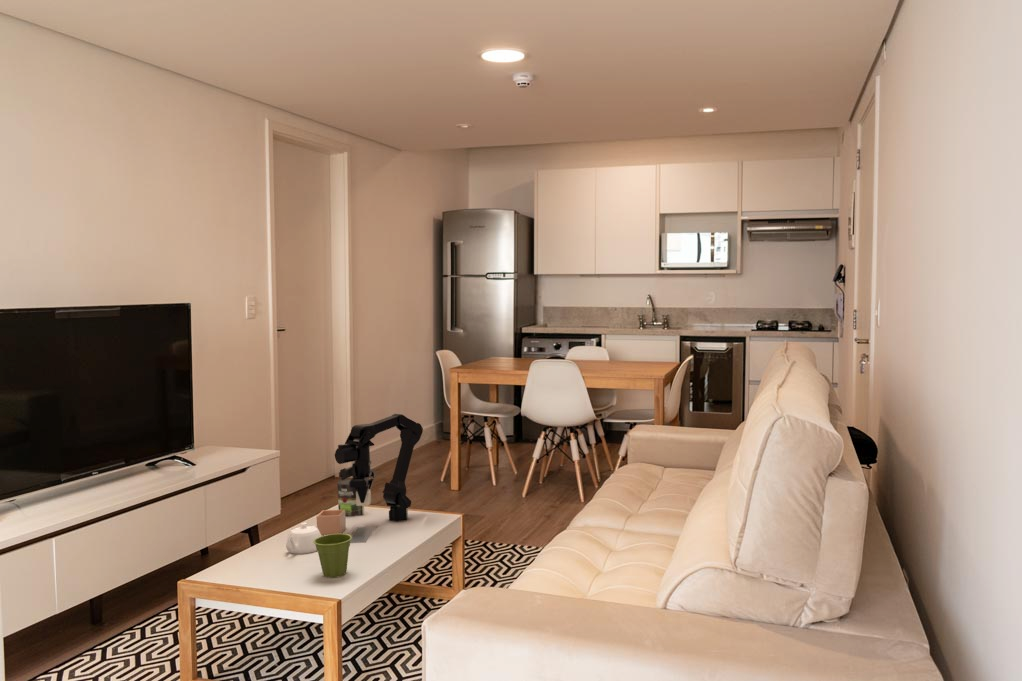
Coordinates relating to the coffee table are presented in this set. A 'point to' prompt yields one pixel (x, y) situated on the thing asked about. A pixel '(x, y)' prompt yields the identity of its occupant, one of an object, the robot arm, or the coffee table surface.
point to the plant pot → (333, 553)
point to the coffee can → (348, 499)
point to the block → (367, 499)
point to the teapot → (302, 539)
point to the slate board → (362, 534)
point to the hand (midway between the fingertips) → (363, 501)
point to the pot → (331, 522)
